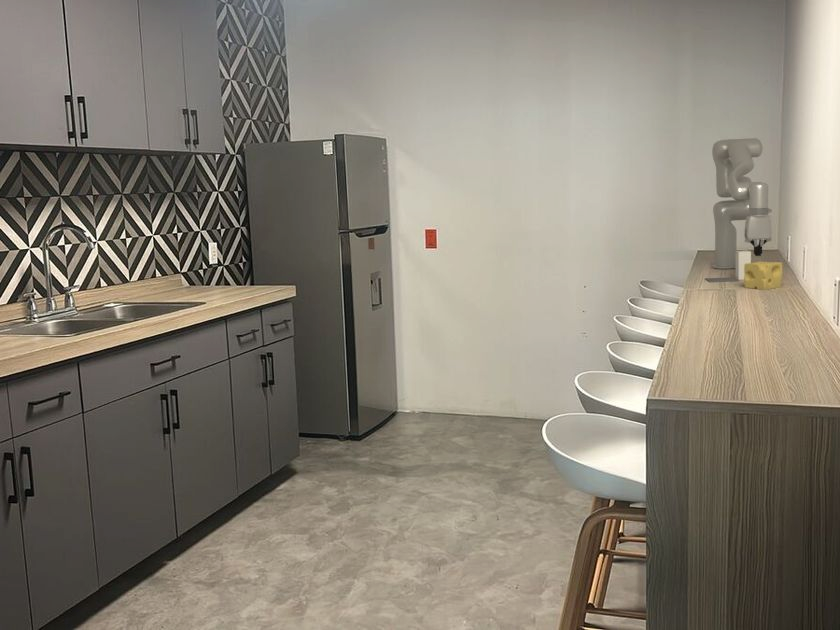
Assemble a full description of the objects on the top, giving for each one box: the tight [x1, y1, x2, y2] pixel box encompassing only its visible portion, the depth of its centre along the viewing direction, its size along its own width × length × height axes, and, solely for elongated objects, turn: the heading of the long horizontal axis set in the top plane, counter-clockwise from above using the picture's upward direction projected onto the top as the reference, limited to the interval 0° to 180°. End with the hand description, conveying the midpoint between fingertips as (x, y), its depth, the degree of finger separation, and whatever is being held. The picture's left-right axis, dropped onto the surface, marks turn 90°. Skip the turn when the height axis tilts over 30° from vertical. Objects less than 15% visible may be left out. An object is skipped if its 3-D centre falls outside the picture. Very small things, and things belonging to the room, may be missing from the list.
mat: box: [704, 276, 740, 283], centre depth 364 cm, size 10×12×1 cm
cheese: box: [743, 261, 784, 291], centre depth 338 cm, size 10×11×10 cm
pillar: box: [734, 250, 752, 281], centre depth 362 cm, size 5×5×12 cm
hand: (757, 255), depth 361 cm, fingers closed
